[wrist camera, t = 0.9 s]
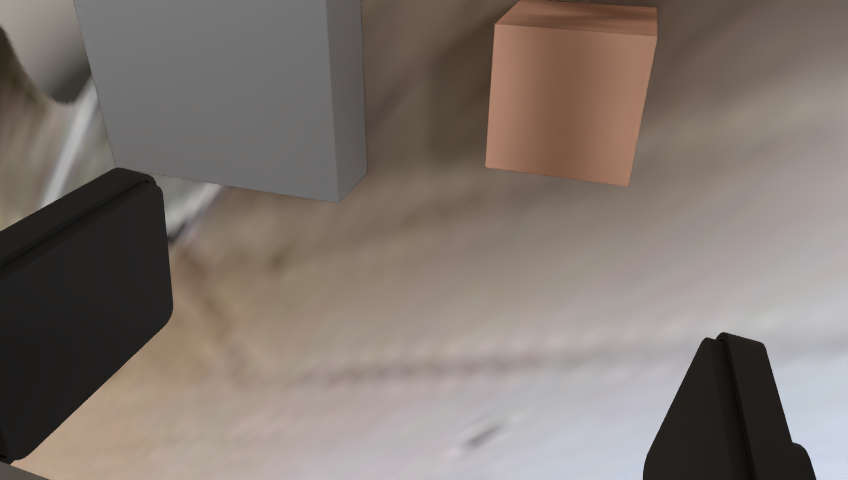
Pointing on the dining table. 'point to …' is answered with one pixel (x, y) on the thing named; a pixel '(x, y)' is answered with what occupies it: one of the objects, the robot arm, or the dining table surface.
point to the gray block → (233, 90)
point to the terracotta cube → (569, 89)
